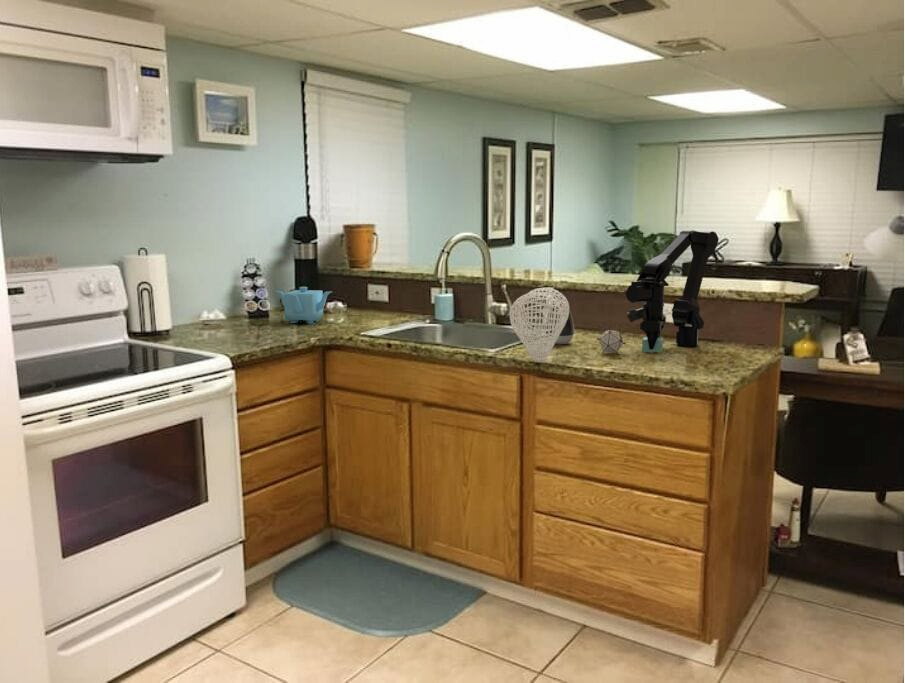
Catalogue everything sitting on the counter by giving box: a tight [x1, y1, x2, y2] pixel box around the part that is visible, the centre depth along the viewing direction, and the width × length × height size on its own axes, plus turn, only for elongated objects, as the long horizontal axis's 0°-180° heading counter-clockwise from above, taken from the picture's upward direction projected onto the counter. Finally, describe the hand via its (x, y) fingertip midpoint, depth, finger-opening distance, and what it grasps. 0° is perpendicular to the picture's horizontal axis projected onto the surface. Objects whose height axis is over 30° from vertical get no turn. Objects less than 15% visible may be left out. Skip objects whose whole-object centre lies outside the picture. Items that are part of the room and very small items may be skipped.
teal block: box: [641, 336, 664, 354], centre depth 256 cm, size 6×6×4 cm
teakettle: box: [274, 286, 333, 325], centre depth 322 cm, size 19×19×15 cm
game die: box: [596, 327, 627, 355], centre depth 252 cm, size 9×8×10 cm
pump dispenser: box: [545, 301, 575, 345], centre depth 269 cm, size 10×10×15 cm
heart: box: [509, 287, 570, 363], centre depth 237 cm, size 28×16×22 cm, turn 163°
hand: (652, 347), depth 256 cm, fingers closed on teal block, 6 cm apart
